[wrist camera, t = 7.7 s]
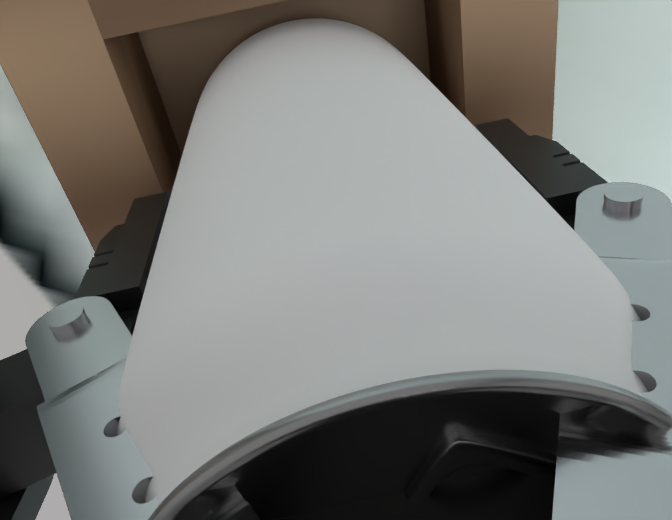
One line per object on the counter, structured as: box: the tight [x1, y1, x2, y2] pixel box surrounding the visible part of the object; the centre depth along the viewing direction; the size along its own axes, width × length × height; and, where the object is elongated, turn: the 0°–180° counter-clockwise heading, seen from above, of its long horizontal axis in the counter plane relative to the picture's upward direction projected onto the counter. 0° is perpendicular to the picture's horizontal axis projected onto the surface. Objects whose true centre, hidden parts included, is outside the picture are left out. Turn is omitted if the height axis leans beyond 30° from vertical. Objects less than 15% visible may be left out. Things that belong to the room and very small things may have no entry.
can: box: [117, 18, 672, 520], centre depth 10 cm, size 6×6×12 cm
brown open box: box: [0, 0, 558, 251], centre depth 15 cm, size 12×12×4 cm
